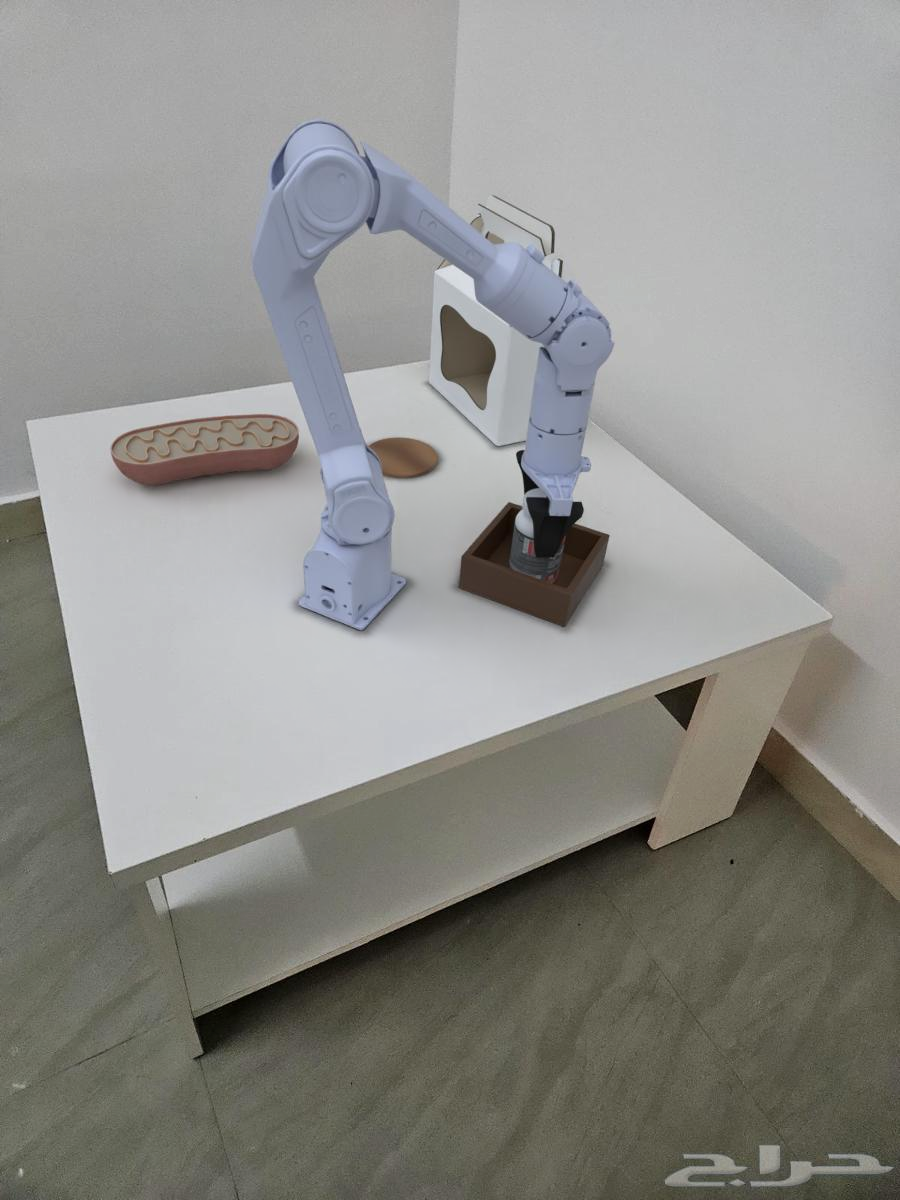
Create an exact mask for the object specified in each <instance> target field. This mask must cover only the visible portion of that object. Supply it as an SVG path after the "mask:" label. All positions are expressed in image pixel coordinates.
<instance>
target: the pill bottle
mask: <svg viewBox="0 0 900 1200" xmlns="http://www.w3.org/2000/svg"><path fill="white" fill-rule="evenodd" d="M526 497H545V498H546V495H545V493H544V492H543V491H542V490H541V489H540V488H537V489H532V490H530V491H528V492H527V493H526V494H525V495H524V494H523V498H522V505H521V506H522V508H523V509H522V510H521V511H520V512H519V513H518V514H517V516H516V519H515V525H514V532H513V539H512V546H511V553H510V560H509V569H512V570H515V571H518V572H520V573H523V574H526V575H529V576H532V577H535V578H537V579H540V580H543V581H546V582H549V583H551V584H552V583H553V582H554V581H555V580H556V579H557V577H558V574H559V570H560V564H561V559H562V554H563V548H564V543H565V538H566V536H565V538H564V540H563V542H562V544H561V546H560V548H559V550H558V552H557V554H556V555H555V557H536V556H535V551H534V542H533V521H532V518H531V516H530V513H529V511H528V507H527V503H526Z"/></svg>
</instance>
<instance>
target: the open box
mask: <svg viewBox="0 0 900 1200" xmlns="http://www.w3.org/2000/svg"><path fill="white" fill-rule="evenodd" d="M522 509H523V508H522V505H519V504H517V503H514V502H510V501H508V502H507V503H506V505H504V506H503V508H502V509H501V510H500V511H499V512H498V513H497V515H495V517H494V518H493V519H492V520H491V522H490V523H489V524H488V525H487V526H486V527H485V528H484V530H483V531H482V532H481V533H480V534H478V535H479V536H478V537H477V538H476V539H475V540H474V541H473V542H472V543H471V545H470V546H468V548H467V549H466V550H465V551H464V553H463V554H462V555H461V557H460V567H459V578H458V579H459V580H458V589H460V590H463V591H466V592H469V593H471V594H474V595H476V596H479V597H482V598H485V599H488V600H490V601H493V602H495V603H498V604H501V605H504V606H507V607H509V608H512V609H515V610H517V611H519V612H523V613H526V614H528V615H531V616H533V617H536V618H539V619H542V620H543V621H547V622H550V623H552V624H554V625H558V626H561V627H563V628H565V627H566V626H567V624H568V623H569V621H570V619H571V618H572V617H573V615H574V613H575V611H576V610H577V608H578V606H579V605H580V603H581V602H582V599H583V598H584V596H585V595H586V593H587V592H588V590H589V589H590V587H591V585H592V584H593V582H594V580H595V579H596V578H597V576H598V574H599V573H600V571H601V570H602V568H603V566H604V562H605V557H606V554H607V549H608V544H609V541H610V537H611V535H610V534H609V533H606V532H602V531H599V530H596V529H593V528H591V527H588V526H584V525H581V524H578V523H575V524H574V525H573V526H572V527H571V528H570V530H569V531H568V532H567V534H566V538H565V543H564V548H563V554H562V559H561V564H560V570H559V574H558V577H557V579H556V580H555V581H554V582H553V583H552V584H551V583H549V582H546V581H543V580H540V579H537V578H535V577H532V576H529V575H526V574H523V573H520V572H518V571H515V570H512V569H509V560H510V553H511V546H512V539H513V532H514V525H515V519H516V516H517V514H518V513H519V512H520V511H521V510H522Z"/></svg>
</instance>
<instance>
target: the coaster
mask: <svg viewBox="0 0 900 1200" xmlns="http://www.w3.org/2000/svg"><path fill="white" fill-rule="evenodd" d="M368 446H369V447H370V448H371V449H372V450H373V451H374V452H375V453H376V454H377V456H378V457H379V459H380V461H381V465H382V474H383V477H384V476H385V477H389V478H395V479H411V478H417V477H420V476H424V475H426V474H429V473H430V472H431V471H433V470H434V469H435V468H436V466H437V464H438V453H437V451H436V450H435V449H434V448H433V447H432V446H431V445H429V444H428V443H427V442H424V441H421V440H419V439H416V438H409V437H387V438H382V439H379V440H376V441H374V442H372V443H371V444H369V445H368Z"/></svg>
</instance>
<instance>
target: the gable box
mask: <svg viewBox="0 0 900 1200" xmlns="http://www.w3.org/2000/svg"><path fill="white" fill-rule="evenodd" d="M477 207H478V210H479V213H476V217H475V218H474V219H473V220H471V222H470V223H469V224H470V225H471V226H472V227H473V228H475V229H476V230H477V231H478V232H479V233H480V234H482V235H483V236H484V237H485V238H486V239H487V240H489V241H490V242H491V243H492V244H495V245H496V244H503V243H509V242H516V243H519V244H520V245H521V246H522V247H524V248H525V249H526V248H527V247H528V245H529V244H532V245H533V246H534V247H535V248H537V249H538V250H539V251H540V252H541V253H542V254H543V255H544V260H543V261H542V263H543V264H544V265H546V266H547V267H548V268H549V269H550V270H552V271H553V272H554V273H555V274H557V275H558V276H559V277H560V278H561V279H563V280H564V281H565V282H566V283H568V282H569V281H570V280H573V281H574V282H575V283H576V284H578V285H579V286H580V288H581V289H582V287H581V285H580V283H579V281H578V279H577V277H576V275H575V273H574V271H573V268H572V267H571V265H570V262H569V260H568V259H567V258H566V257H565V256H564V255H563V254H561V253H558V252H555V244H556V243H555V240H556V232H555V229H554V226H552V225H551V224H550V223H547V222H546V221H544V220H541V219H540V218H538V217H536V216H534V215H533V214H531V213H528V212H527V211H524V210H522V209H521V208H519V207H517V206H516V205H513V204H512V203H510V202H507V201H506V200H504V199H502V198H500V197H498V196H497V195H495V194H494V195H493V194H491V195H489V196H488V197H487V200H486V206H484V205H483V204H481V203H478V204H477ZM433 274H434V275H433V292H432V293H433V294H432V314H431V315H432V316H431V337H430V355H429V375H428V376H429V377H428V383H429V385H431V386H432V387H433V388H434V389H435V390H436V391H438V393H439V394H441V395H442V396H443V398H445V399H446V400H447V401H448V402H449V403H450V404H451V405H452V406H453V407H454V408H455V409H456V410H458V411H459V413H461V414H462V415H463V416H464V417H465V418H466V419H467V420H468V421H469V422H470V423H471V424H473V425H474V426H475V428H477V429H478V430H479V431H480V432H481V433H482V434H483V435H484V436H485V437H487V439H489V441H491V442H492V443H493V444H494V445H495V446H496V447H502V446H506V445H507V446H508V445H511V444H517V443H521V442H526V438H527V430H528V423H529V416H530V409H531V401H532V394H533V386H534V379H535V373H536V368H537V361H538V353H539V348H540V347H544V346H543V345H542V343H539V342H534V341H531V340H529V339H528V338H526V337H525V336H524V335H522V334H521V333H520V332H518V331H517V330H516V329H514V328H513V327H511V326H510V325H509V324H507V323H506V322H505V321H503V320H502V319H501V318H499V317H498V316H497V315H495V314H494V313H493V312H491V311H490V310H488V309H487V308H486V307H484V306H483V305H482V304H480V303H479V302H478V301H477V299H476V296H475V289H474V280H473V278H471V277H470V276H469V275H467V274H466V273H464V272H463V271H461V270H460V269H458V268H457V267H456V266H454V265H453V264H451V263H450V262H448V261H447V260H445V259H444V258H443V260H442V261H441V263H440V265H439V266H438V267H437V269H435V271H434V273H433ZM582 294H584V292H583V291H582ZM544 348H545V347H544Z"/></svg>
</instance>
